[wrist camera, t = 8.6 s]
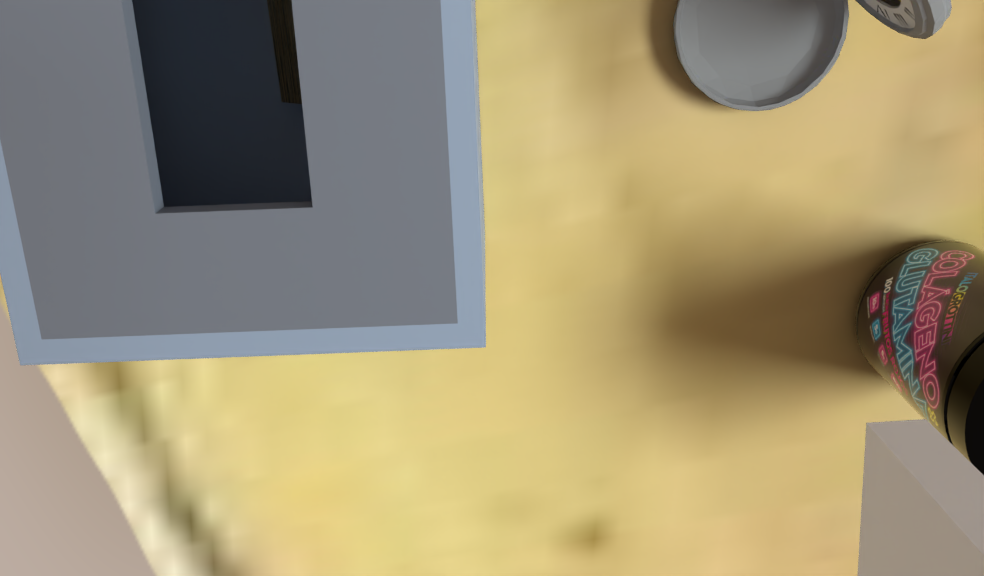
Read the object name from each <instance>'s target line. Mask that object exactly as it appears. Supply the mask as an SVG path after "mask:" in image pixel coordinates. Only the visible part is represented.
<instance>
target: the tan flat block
mask: <svg viewBox="0 0 984 576" xmlns="http://www.w3.org/2000/svg"><path fill="white" fill-rule="evenodd" d="M267 5H268V11H269V18H270V25H271V32H272V39H273V46H274V53H275V59H276V66H277V73H278V80H279V87H280V94H281V101H282V102H284V103H295V104H302V98H301V88H300V78H299V69H298V59H297V49H296V39H295V29H294V20H293V10H292V0H267Z"/></svg>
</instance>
